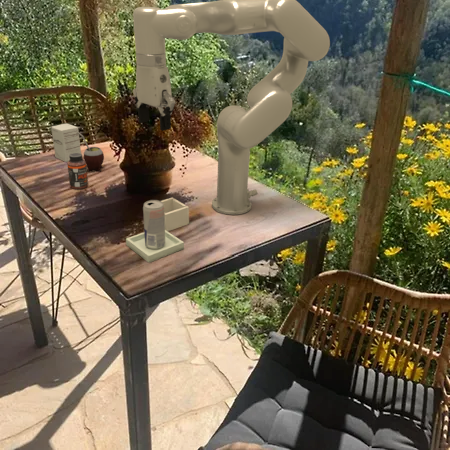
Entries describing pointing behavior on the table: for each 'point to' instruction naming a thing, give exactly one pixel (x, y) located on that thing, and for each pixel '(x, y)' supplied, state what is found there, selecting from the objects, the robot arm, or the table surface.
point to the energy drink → (154, 224)
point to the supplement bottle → (77, 171)
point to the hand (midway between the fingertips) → (154, 125)
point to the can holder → (175, 214)
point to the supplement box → (65, 141)
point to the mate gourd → (93, 157)
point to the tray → (153, 254)
